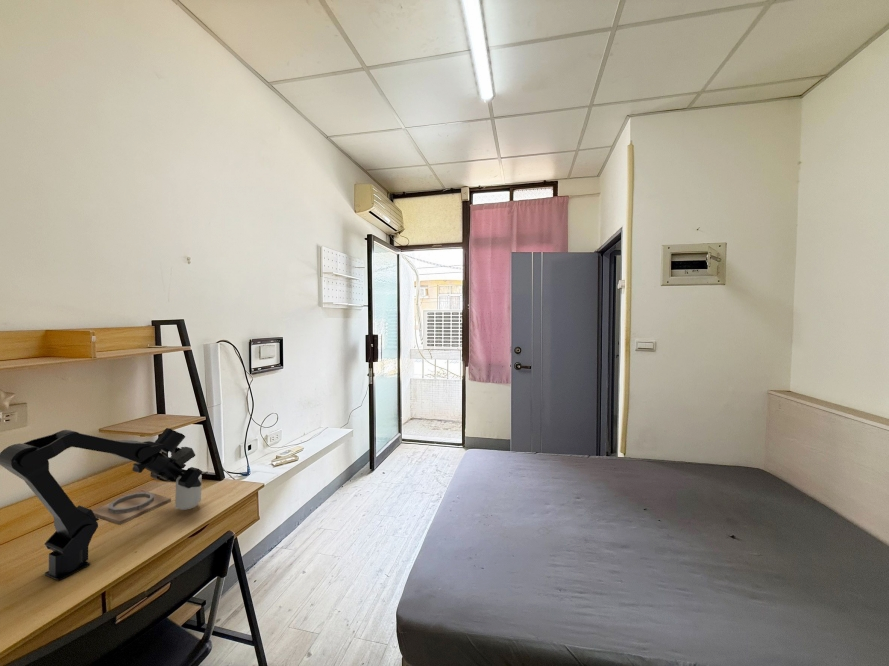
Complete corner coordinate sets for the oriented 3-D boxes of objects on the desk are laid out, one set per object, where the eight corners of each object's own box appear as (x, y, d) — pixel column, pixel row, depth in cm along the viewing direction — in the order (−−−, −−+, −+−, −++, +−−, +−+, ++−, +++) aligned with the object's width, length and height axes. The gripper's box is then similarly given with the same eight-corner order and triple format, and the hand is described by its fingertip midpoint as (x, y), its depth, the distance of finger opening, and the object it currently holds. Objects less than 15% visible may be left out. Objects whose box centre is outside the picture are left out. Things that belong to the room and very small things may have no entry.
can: (184, 513, 118) (185, 479, 118) (170, 508, 121) (171, 475, 121) (205, 502, 126) (206, 470, 125) (191, 498, 128) (192, 467, 128)
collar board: (120, 524, 114) (120, 516, 114) (89, 514, 118) (89, 507, 118) (170, 501, 129) (171, 494, 129) (141, 493, 134) (142, 486, 133)
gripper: (197, 446, 116) (226, 466, 127) (161, 438, 122) (191, 458, 133) (171, 479, 109) (204, 497, 119) (134, 468, 115) (169, 486, 125)
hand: (192, 483), depth 124 cm, fingers closed on can, 7 cm apart
